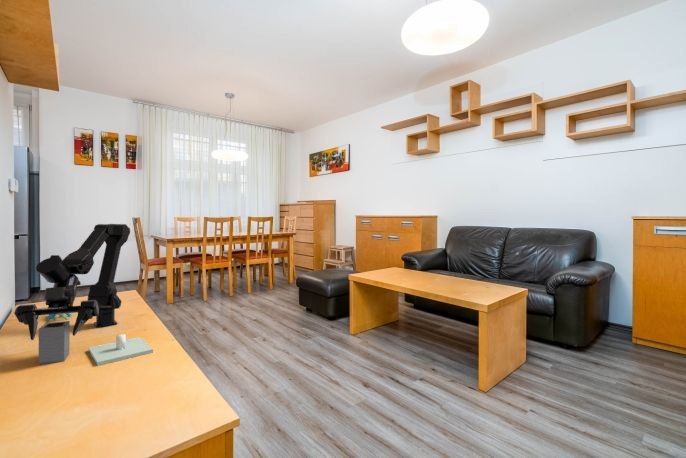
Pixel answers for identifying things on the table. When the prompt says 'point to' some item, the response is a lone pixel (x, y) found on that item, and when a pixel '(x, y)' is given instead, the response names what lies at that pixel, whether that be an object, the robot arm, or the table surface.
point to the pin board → (119, 350)
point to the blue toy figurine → (59, 316)
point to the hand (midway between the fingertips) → (53, 337)
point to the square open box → (54, 342)
